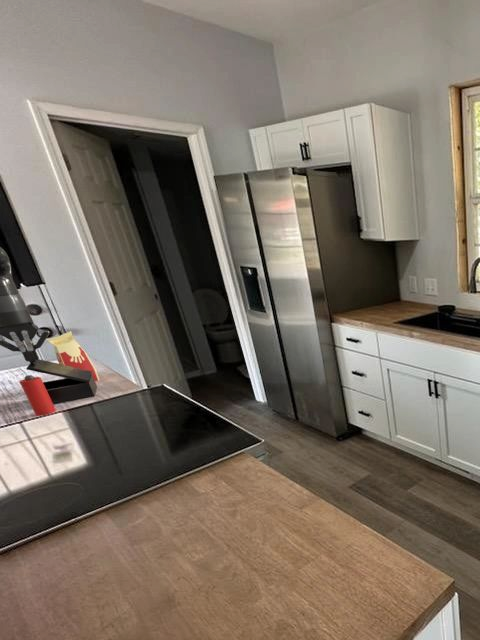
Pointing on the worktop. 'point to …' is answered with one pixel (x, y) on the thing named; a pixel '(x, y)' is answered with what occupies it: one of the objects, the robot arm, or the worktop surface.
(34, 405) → the red capped cylinder
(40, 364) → the lid
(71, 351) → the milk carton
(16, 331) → the robot arm
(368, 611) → the worktop surface
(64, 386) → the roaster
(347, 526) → the worktop surface
